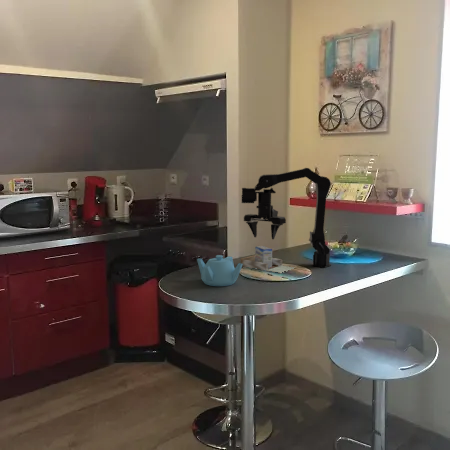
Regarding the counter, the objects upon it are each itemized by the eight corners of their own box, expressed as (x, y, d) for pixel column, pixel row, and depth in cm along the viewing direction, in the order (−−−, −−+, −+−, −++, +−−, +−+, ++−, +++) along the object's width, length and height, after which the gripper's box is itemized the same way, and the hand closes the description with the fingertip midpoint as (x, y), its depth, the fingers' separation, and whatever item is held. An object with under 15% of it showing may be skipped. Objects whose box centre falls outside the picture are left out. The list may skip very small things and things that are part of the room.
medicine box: (254, 265, 231) (254, 246, 229) (263, 264, 233) (263, 245, 231) (263, 269, 224) (263, 249, 222) (272, 268, 225) (272, 248, 224)
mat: (295, 268, 224) (295, 267, 224) (280, 273, 215) (280, 272, 215) (282, 266, 229) (282, 265, 229) (266, 271, 220) (266, 270, 220)
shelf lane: (282, 266, 229) (282, 258, 229) (266, 271, 220) (266, 263, 219) (257, 261, 238) (257, 254, 237) (240, 266, 228) (240, 258, 228)
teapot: (243, 286, 195) (244, 258, 193) (205, 289, 191) (205, 260, 190) (232, 277, 210) (233, 251, 208) (196, 279, 206) (196, 252, 204)
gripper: (292, 203, 228) (291, 238, 230) (256, 200, 238) (256, 234, 241) (279, 205, 219) (278, 241, 221) (243, 202, 230) (242, 237, 232)
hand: (264, 238), depth 229 cm, fingers open, 9 cm apart
